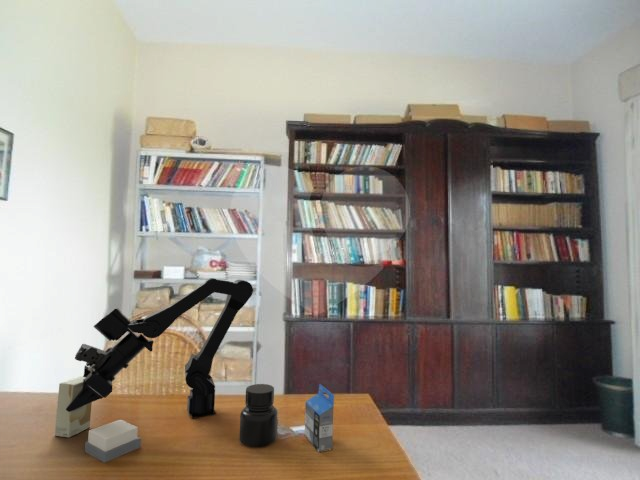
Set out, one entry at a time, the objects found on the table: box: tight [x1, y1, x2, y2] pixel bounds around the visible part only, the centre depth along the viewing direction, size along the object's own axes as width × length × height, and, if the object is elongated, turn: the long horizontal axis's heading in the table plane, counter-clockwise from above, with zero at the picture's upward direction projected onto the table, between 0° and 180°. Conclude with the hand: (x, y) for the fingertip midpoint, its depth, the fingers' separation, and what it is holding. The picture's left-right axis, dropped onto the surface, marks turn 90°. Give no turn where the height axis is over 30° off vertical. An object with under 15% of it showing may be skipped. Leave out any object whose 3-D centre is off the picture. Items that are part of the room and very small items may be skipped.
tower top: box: [87, 419, 139, 452], centre depth 81 cm, size 7×7×2 cm
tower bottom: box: [84, 435, 142, 464], centre depth 81 cm, size 8×8×2 cm
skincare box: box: [54, 376, 93, 438], centre depth 89 cm, size 6×4×12 cm
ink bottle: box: [238, 383, 279, 448], centre depth 88 cm, size 10×9×12 cm
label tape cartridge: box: [304, 383, 335, 453], centre depth 87 cm, size 9×4×12 cm, turn 24°
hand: (68, 403), depth 88 cm, fingers open, 9 cm apart
